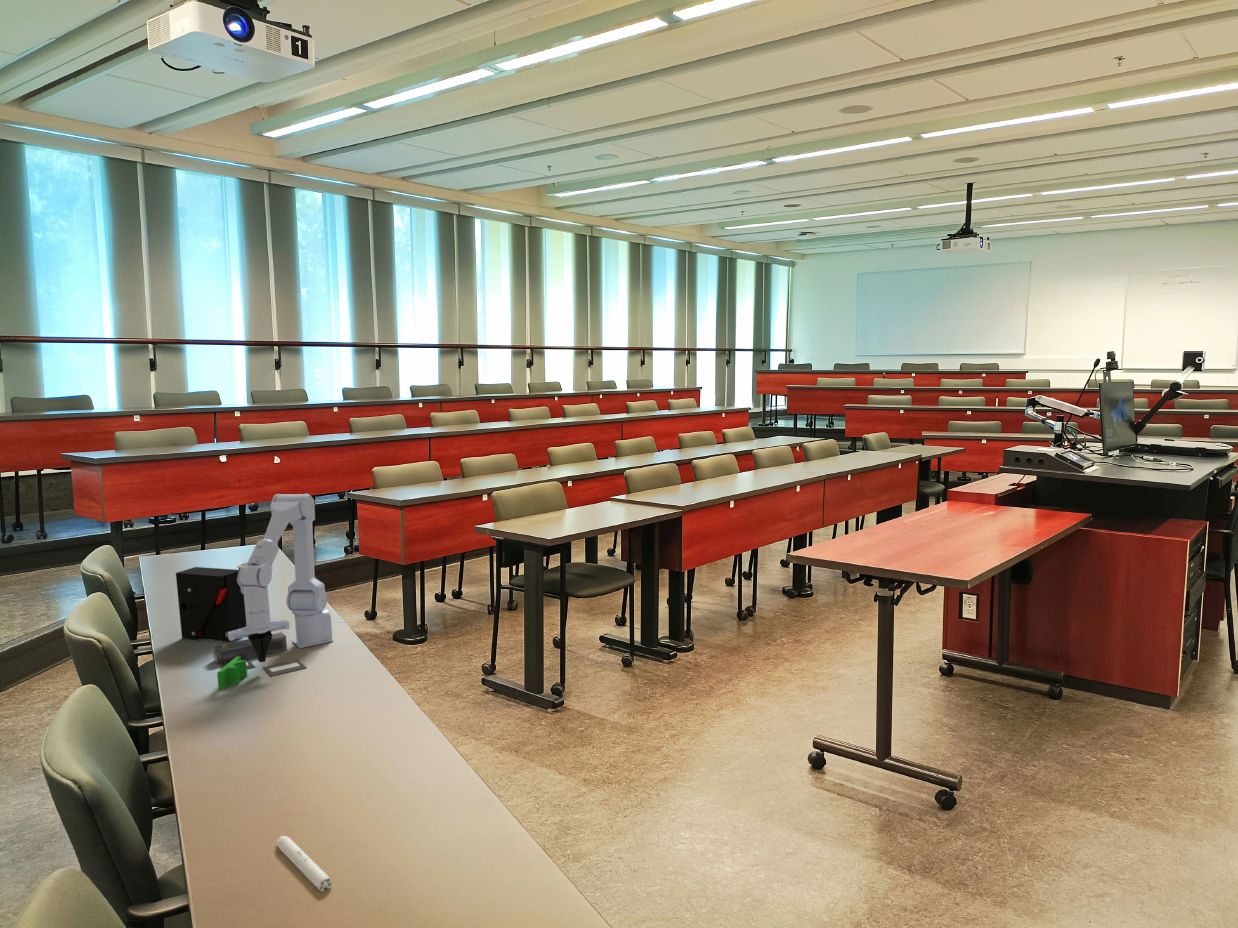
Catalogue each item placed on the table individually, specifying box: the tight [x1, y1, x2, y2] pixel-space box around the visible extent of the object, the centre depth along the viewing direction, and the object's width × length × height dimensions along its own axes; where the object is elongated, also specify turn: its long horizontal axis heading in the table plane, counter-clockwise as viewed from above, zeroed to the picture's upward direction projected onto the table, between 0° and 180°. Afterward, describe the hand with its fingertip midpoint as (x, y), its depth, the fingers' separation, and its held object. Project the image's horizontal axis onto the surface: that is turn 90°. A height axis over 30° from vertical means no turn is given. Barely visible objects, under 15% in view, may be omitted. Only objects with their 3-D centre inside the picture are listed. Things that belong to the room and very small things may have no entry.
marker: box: [277, 835, 333, 892], centre depth 131 cm, size 18×2×2 cm, turn 43°
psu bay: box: [212, 631, 288, 665], centre depth 230 cm, size 18×5×4 cm, turn 126°
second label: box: [262, 659, 307, 677], centre depth 219 cm, size 9×8×1 cm
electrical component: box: [175, 566, 247, 643], centre depth 247 cm, size 18×10×20 cm, turn 71°
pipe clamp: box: [216, 657, 248, 690], centre depth 211 cm, size 11×4×5 cm, turn 2°
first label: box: [219, 658, 256, 670], centre depth 222 cm, size 7×8×1 cm
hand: (261, 660), depth 216 cm, fingers closed
